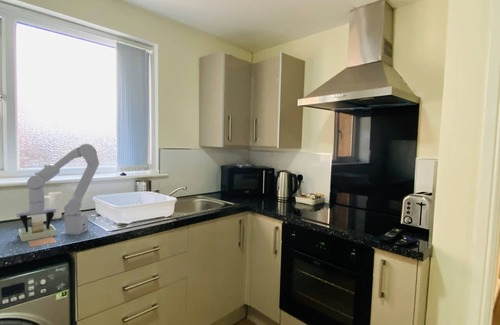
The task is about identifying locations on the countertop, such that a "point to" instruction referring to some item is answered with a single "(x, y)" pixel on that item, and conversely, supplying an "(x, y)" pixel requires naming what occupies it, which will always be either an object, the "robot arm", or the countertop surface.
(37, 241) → the terracotta tile
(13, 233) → the countertop surface
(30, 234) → the pale green bin
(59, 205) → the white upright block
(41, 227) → the birch block
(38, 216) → the cup
